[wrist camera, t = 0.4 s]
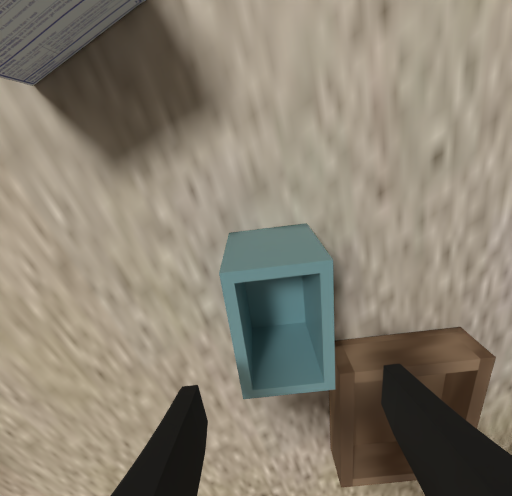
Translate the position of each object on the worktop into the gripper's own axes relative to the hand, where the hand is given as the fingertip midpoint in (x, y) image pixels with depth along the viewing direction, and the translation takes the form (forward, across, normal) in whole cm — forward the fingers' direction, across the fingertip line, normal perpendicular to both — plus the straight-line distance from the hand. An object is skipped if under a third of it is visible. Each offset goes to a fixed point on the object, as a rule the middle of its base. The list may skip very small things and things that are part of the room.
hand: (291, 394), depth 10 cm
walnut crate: (+9, -9, +13) cm, 18 cm away
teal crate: (+9, 0, 0) cm, 9 cm away
